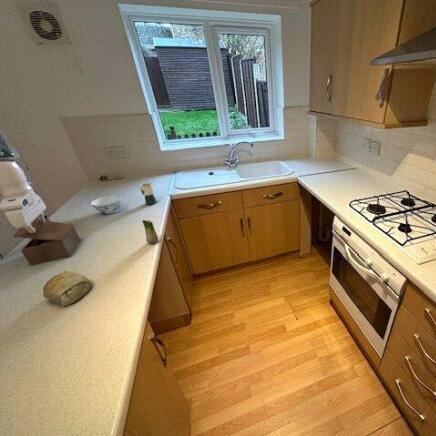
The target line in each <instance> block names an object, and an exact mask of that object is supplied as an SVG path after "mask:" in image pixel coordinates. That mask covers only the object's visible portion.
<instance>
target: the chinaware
mask: <svg viewBox="0 0 436 436" xmlns="http://www.w3.org/2000/svg"><path fill="white" fill-rule="evenodd" d="M122 199H123V198H122V196H121V195H107V196H102V197H99V198H97V199H94V200H92V201H91V203H90V204H91V206H92V207H93V208H94V209H95V210H96V211H98V212H100V213H103V214H104V215H111V214H115V213H117V212H118V210H119V208H121V205H122Z"/></svg>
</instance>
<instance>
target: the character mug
mask: <svg viewBox="0 0 436 436" xmlns="http://www.w3.org/2000/svg"><path fill="white" fill-rule="evenodd" d="M139 189H140V193H141V195H142V196H144V200H145V204H146V205H153V204H155V203H157V199H156V197H155V195H154V194H155V189H154V186H153V183H152V182H145V183H141V184H139Z"/></svg>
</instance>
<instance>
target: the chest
mask: <svg viewBox="0 0 436 436" xmlns="http://www.w3.org/2000/svg"><path fill="white" fill-rule="evenodd" d="M80 241H81V238H80V235H79V234H78V232H77V230H76V228H75V226H74V225H73V227H72V228H71V229H70V231H69V232H68V234H67V235H66V237H65V238H64V239H63V241H62V242H56V243H50V244H45V245H41V244H42V243H47V242H52V241H50V240H40V239H31V238H29V241H27V243H25V244H24V246H23V247H22V248H21V249H20V252H21V253H22V255H23V256H24V257H25V259H26V260H27V262H28V264H29V265H30V266H34V265H38V264H42V263H47V262H51V261H57V260H60V259H65V258H69V257H71V256H72V255H73V253H74V251H75V250H76V248H77V246H78V244H79V243H80Z"/></svg>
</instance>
